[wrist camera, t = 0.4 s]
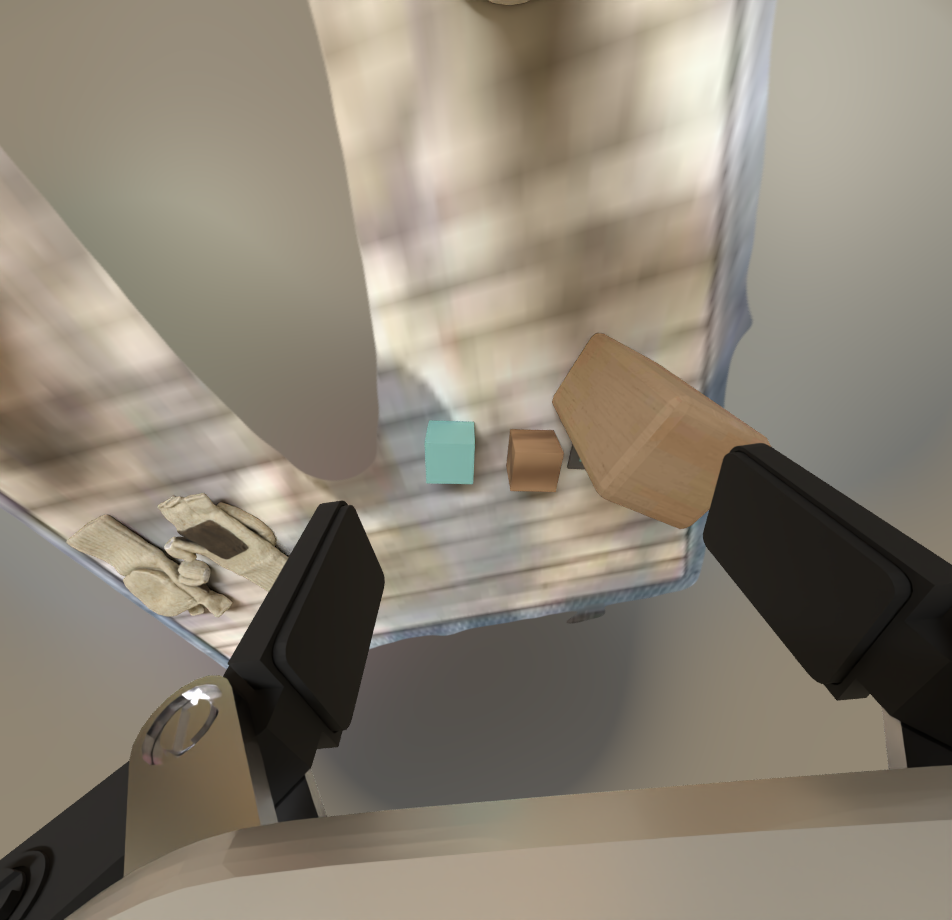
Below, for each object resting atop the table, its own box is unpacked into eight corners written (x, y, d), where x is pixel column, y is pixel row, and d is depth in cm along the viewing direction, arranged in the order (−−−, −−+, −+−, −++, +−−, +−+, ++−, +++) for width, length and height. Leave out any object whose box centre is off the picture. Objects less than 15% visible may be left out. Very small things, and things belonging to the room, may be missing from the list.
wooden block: (609, 429, 47) (687, 536, 30) (547, 400, 44) (595, 500, 28) (659, 364, 42) (785, 449, 25) (593, 327, 40) (685, 395, 23)
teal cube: (429, 420, 46) (424, 443, 41) (473, 421, 46) (474, 444, 41) (430, 457, 49) (426, 483, 44) (472, 458, 49) (473, 484, 44)
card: (575, 431, 47) (576, 433, 47) (618, 432, 47) (619, 434, 47) (567, 467, 50) (568, 469, 50) (607, 467, 51) (608, 470, 50)
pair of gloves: (217, 471, 50) (193, 494, 46) (320, 575, 63) (309, 601, 59) (68, 526, 55) (33, 551, 51) (192, 612, 69) (173, 638, 64)
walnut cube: (510, 429, 47) (515, 452, 42) (553, 430, 47) (563, 453, 42) (506, 465, 50) (510, 490, 45) (546, 466, 50) (555, 491, 45)
